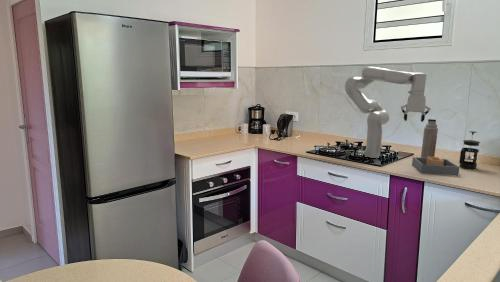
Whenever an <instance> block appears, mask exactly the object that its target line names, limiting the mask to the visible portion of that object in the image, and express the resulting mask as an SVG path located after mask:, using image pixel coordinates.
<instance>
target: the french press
mask: <svg viewBox="0 0 500 282" xmlns="http://www.w3.org/2000/svg"><path fill="white" fill-rule="evenodd" d="M469 133H471V139H464V140H462V141H463V145H465V146H470V147H462V148H461V149H460V155H459V163H458V164H459V166H458V167H460V168H459V169H463V168H464V169H463V170H469V169H471V171H475V170H474V169H476V170H478V169H477V168H478V167H477V165H478V163H477V160H478V153H479V152H480V149H478V148H474V147H479V145H480V144H481V142H480V141H479V140H473V138H474V134H476V133H478V132H477V131H472V130H471V131H469ZM473 146H474V147H473ZM466 153H469V154H468V156H466ZM471 153H473V156H471Z"/></svg>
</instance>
